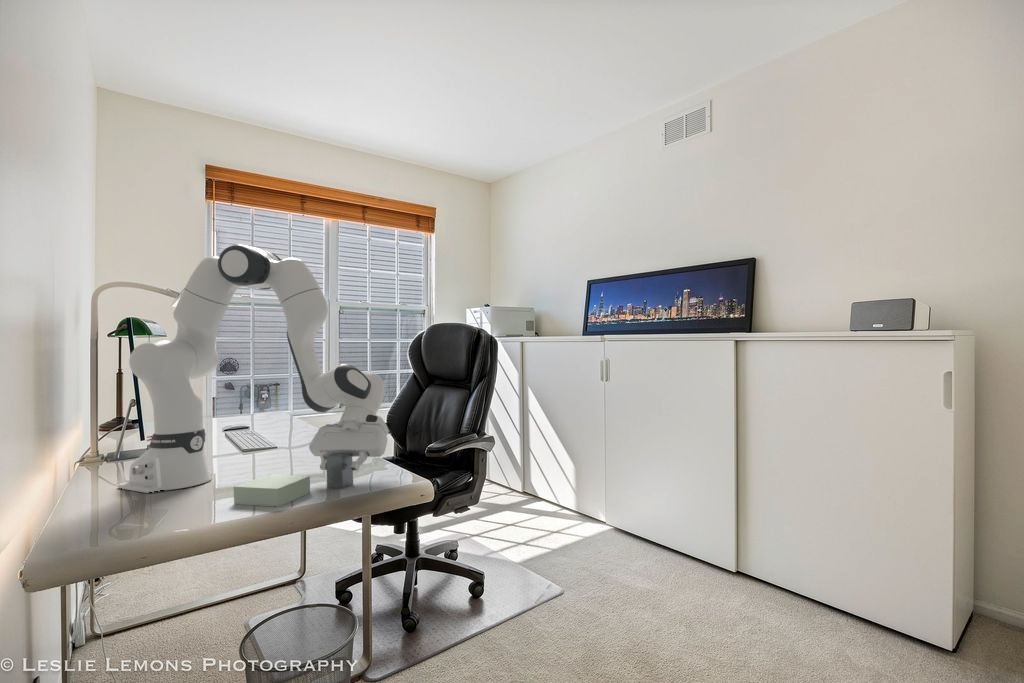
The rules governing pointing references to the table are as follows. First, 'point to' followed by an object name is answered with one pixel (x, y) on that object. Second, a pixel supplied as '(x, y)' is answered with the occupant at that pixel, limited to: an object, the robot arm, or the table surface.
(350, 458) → the block
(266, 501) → the stand
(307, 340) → the robot arm
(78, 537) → the table surface
